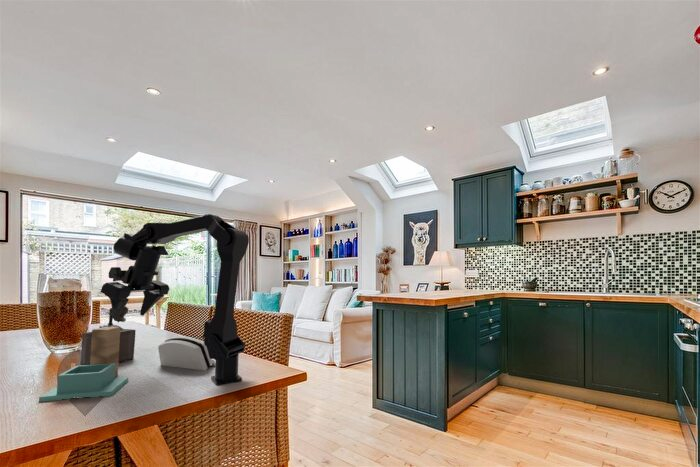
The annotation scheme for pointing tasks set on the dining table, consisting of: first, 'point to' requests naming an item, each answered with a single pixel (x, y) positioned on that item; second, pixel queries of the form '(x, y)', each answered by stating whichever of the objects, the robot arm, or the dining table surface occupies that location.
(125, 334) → the dark brown wooden block
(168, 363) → the grey curved block
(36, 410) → the dining table surface
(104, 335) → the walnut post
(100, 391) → the well
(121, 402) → the dining table surface
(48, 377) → the dining table surface
